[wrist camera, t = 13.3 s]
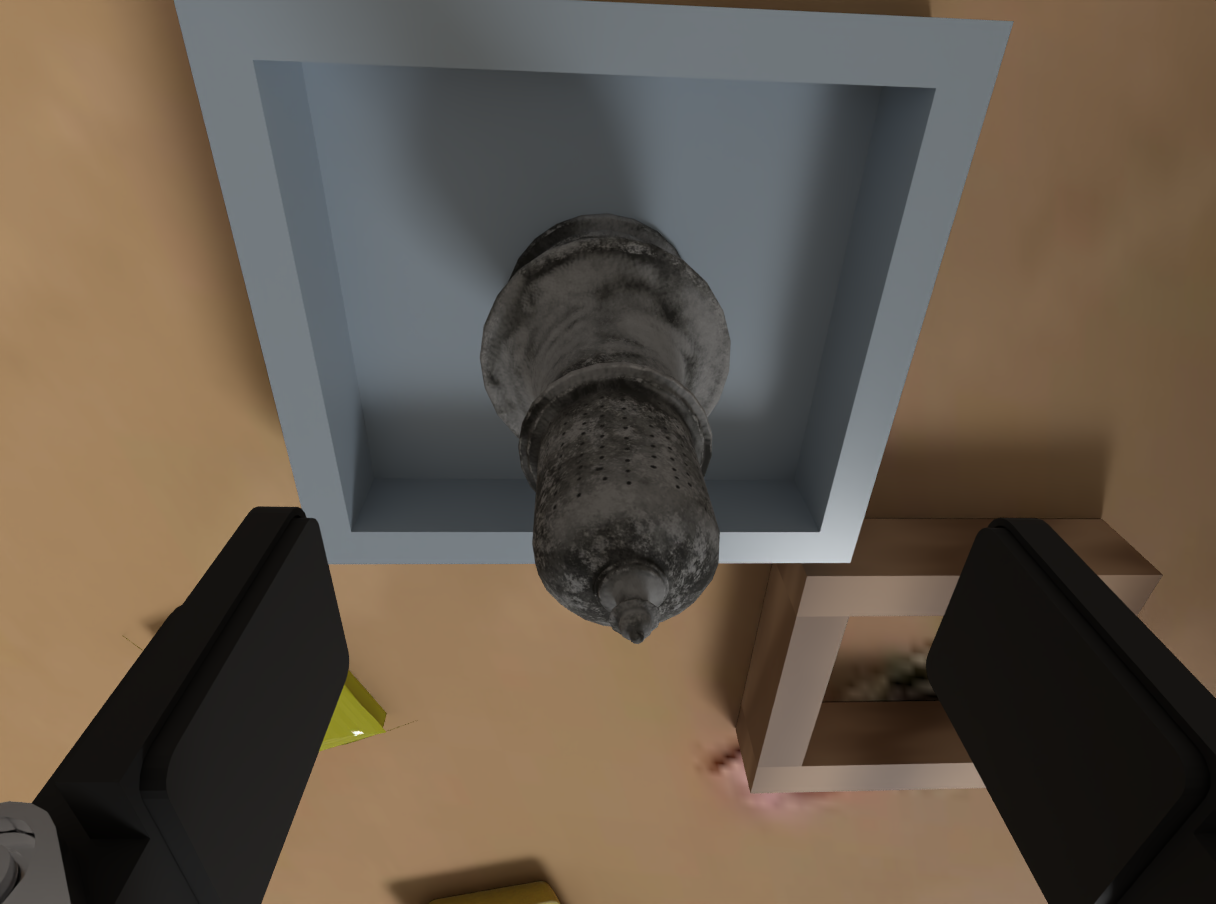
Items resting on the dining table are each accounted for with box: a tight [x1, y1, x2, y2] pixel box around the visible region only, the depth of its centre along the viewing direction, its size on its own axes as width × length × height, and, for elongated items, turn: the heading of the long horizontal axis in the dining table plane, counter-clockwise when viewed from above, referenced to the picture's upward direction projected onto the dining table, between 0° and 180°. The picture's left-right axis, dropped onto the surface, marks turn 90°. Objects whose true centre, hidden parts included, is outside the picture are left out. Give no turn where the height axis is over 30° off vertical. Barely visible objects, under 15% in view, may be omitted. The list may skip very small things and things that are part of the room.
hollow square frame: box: [736, 519, 1163, 793], centre depth 26 cm, size 12×12×3 cm
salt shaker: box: [480, 213, 731, 644], centre depth 14 cm, size 6×6×12 cm
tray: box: [174, 0, 1014, 564], centre depth 18 cm, size 16×14×4 cm
